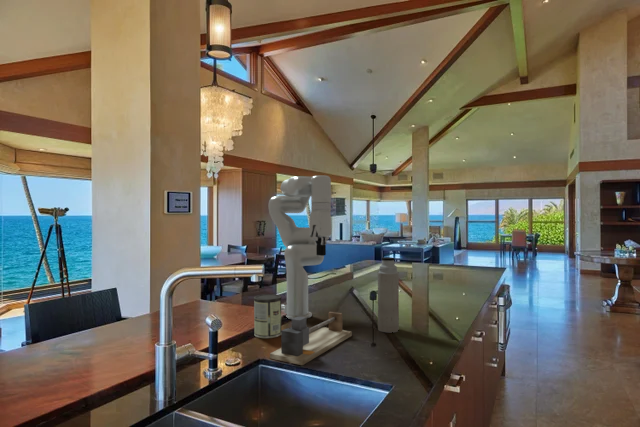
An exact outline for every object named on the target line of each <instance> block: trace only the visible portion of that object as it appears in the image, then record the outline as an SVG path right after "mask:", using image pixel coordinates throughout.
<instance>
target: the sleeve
mask: <svg viewBox="0 0 640 427" xmlns="http://www.w3.org/2000/svg"><path fill="white" fill-rule="evenodd" d="M288 329H294V330H300V331H303V346H304V345H306V344H308V343H309V334H310V333H309V329H310V326H309V327H308V326H307V319H306V317H299V316H298V317H296V318H293V319H291V327H289V328H288Z"/></svg>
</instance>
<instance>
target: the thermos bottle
mask: <svg viewBox="0 0 640 427" xmlns="http://www.w3.org/2000/svg"><path fill="white" fill-rule="evenodd" d="M399 277H400V274H399V272H398V267H397V266H396V265H395V258H394V257H387V256H386V257H385V256H384V257H381V265H379V271H378V272H377V330H378V331H379V332H381V333H390V334H391V333H392V332H393V333H397V332H399V331H398V330H400V329H399V328H400V327H399V326H400V325H399V324H400V323H399V321H400V320H399V319H400V318H399V314H400V313H399V311H400V310H399V307H400V305H399V304H400V303H399V302H400V300H399V299H400V298H399V297H400V296H399V293H400V292H399V289H400V288H399V284H400V282H399Z"/></svg>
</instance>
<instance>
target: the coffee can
mask: <svg viewBox="0 0 640 427" xmlns="http://www.w3.org/2000/svg"><path fill="white" fill-rule="evenodd" d="M282 298H283V297H282V295H280V294H275V293H269V294H268V293H267V294H264V293H263V294H258V295H255V296H254V297H253V301H254V302H253V303H254V304H253V308H254V309H253V313H254V314H253V317H254V318H253V319H254V328H253V330H254V336H255V337H256V338H260V339H274V338H277V337H280V336H281V331H282V310H281V305H282Z"/></svg>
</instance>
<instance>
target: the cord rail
mask: <svg viewBox="0 0 640 427" xmlns="http://www.w3.org/2000/svg"><path fill="white" fill-rule="evenodd" d="M327 325H328V327H327ZM325 326H326V327H325ZM280 336H281V337H280V338H281V341H280V342H281V347H280V348H278V349H276V350H274V351H272V352H270V353H269V359H270V360H271V359H272V360H276V361H281V362H285V363H291V364H295V365H297V366H298V365H300V366H304V365H305V364H308V363H309V362H310V361H313V360H314V359H315V358H317V357H319V356H320V355H323V354H324V353H325V352H327V351H328V350H331V349H332V348H334V347H336V346H337V345H339V344H340V343H342V342H344V341H345V340H347V339H349V338H351V337H352V336H353V332H352V331H351V330H344V329H343V312H336V311H329V312H328V319H327V320H325V321H323V322H320V323H319V324H316V325H314V326H312V327H309V343H308V344H306V345H304V346H303V331H300V330H294V329H289V328H284V329H281V335H280Z"/></svg>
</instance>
